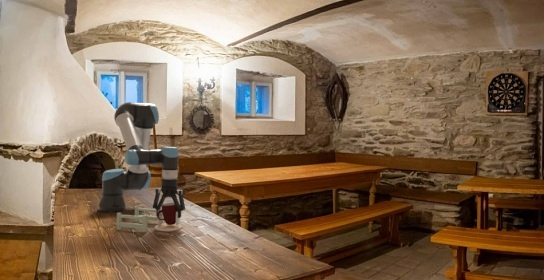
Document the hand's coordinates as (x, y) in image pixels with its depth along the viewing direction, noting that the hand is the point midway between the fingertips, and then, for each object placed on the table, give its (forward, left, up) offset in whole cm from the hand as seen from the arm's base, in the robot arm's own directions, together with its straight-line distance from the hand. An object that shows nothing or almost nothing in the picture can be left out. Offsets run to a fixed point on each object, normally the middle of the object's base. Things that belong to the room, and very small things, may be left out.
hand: (168, 223), depth 202 cm
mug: (0, 0, -1) cm, 1 cm away
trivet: (0, 0, -2) cm, 2 cm away
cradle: (-14, -2, -2) cm, 14 cm away
